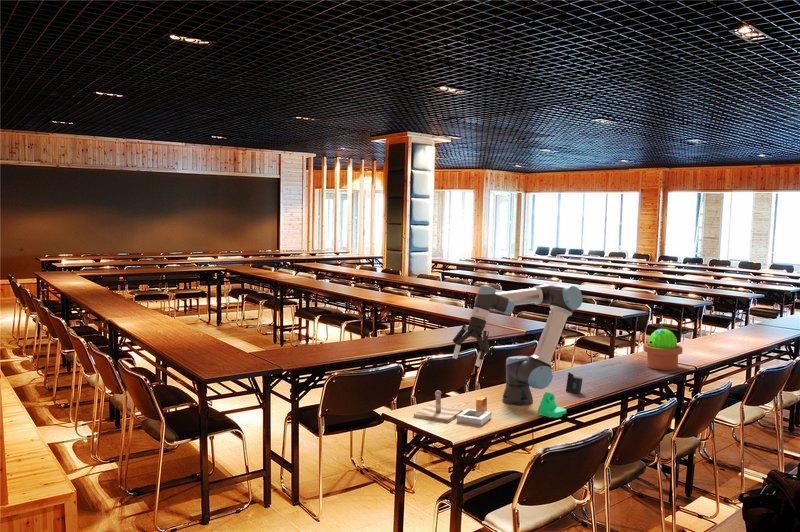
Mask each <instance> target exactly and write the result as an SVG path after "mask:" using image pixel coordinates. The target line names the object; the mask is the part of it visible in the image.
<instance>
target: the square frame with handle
mask: <svg viewBox="0 0 800 532" xmlns="http://www.w3.org/2000/svg"><path fill="white" fill-rule="evenodd" d="M487 400H488V397H487V396H483V395H481V396H479V397H478V398H476V399H475V409H473V408H466V409H464V410H463V412H461V413H460V414H458V415H457V417H456V423H459V424H460V423H463V424H465V425H466V424H467V425H473V426H479V427H482V426H483V425H485V424H486V423H487V422H488V421H490V420H491V419H492V411H488V408H487V407H488V406H487V405H488V403H487V402H488V401H487ZM490 418H491V419H490ZM489 419H490V420H489ZM484 423H485V424H484Z"/></svg>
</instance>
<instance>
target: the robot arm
mask: <svg viewBox="0 0 800 532" xmlns="http://www.w3.org/2000/svg"><path fill="white" fill-rule="evenodd" d="M496 290H497V289H496V288H495V287H493V286H490V285H486V284H482V285H480V286H479V289H478V292H477V293H476V295H475V297H474V305H473V310H472V312H471V316H470V318H469V321H468V325H467V324H463V325H462V327H461V328H460V330H459V331H458V332H457V334H456V335H455V337H454V338H453V339H452V342H453V343H454V347H453V354H452V357H451V358H452V359H454V360H457V359H458V357H459V354H460V350H461V347H462V346H461V345H462V344H463V343H464V342H465V341H466V340H467V339H469V338H470V337H471V338H475V339H476V340H477V344H478V347H479V350H480V351H478V355H477V357H476V361H475V363H474V366H476V367H479V368H480V367H481V364H482V361H483V360H484V358H485V354H490V351H491V350H490V342H489V335H490V332H489V331H488V330H484V329H485V328H486V325H487V320H488V318H489V315H490V311H493V312H496V313H497V312H498V313H501V314H505V315H510V314H511V313H513V311H514V308H515V306H519V305H520V306H521V305H529V304H535V305H547V306H549V308H550V312H549V314H548V316H547V320H546V321H545V322H546V323H545V324H544V327H543V330H542V332H541V335H540V337H539V340H538V342H537V346H536V348H535V351H534V352H533V354H531V355H529V356H528V355H515V356H508V357H507V358H506V359H505V389H504V392H503V394H502V402H503V401H504V402H503V403H506V404H507V403H508V404H507V405H514V406H528V405H530V404H532V403H533V401H534V399H533V394H532V391H531V388H532V389H538V390H543V389H545V388H548V387H549V386H550V384H551V383H552V381H553V378H554V375H553V370H552V366H553V365H552V362H551V361H552V358H553V355H554V353H555V350H556V348H557V345H558V343H559V340H560V337H561V335H562V332H563V330H564V328H565V325H566V322H567V319H568V318H569V317H571V316H572V315H573V313H574V311H575V310H577V309H579V308H580V307H581V306H582V303H583V295H582V291H581V290H580V288H578V287H577V286H575V285H572V284H564V283H563V284H562V283H554V282H553V283H546V284H542V285H541V284H540V285H534V286H533V287H531V288H523V289H516V290H507V291H499V292H498V291H497V292H496ZM530 387H531V388H530Z"/></svg>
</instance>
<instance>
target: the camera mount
mask: <svg viewBox="0 0 800 532" xmlns="http://www.w3.org/2000/svg"><path fill="white" fill-rule="evenodd" d="M555 398H556V397H555V394H553V393H550V392H544V394H543V396H542V398H541V401H540V404H539V406H538V408H537V415H541V416H544V417H546V418H553V419H557V418H561V417H563V415H565V414H567V408H564V407H563V408H562V407H560V406H558V405H557V403H556V401H555Z"/></svg>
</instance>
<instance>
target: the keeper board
mask: <svg viewBox="0 0 800 532" xmlns="http://www.w3.org/2000/svg"><path fill="white" fill-rule="evenodd" d="M434 395H435V405H434V404H429V405H427V406H425V407H422V408H421V409H420V410H418V411H416V412H415V413H413V418H418V419H423V420H429V419H430V421H435V420H436V422H440V421H443V422H442V423H446V422H447V424H448V423H450V422H452V421H453V420H454V418H455V419H457V415H458V414H460V413H461V412H463V411H464V410H463V409H456V408H452V407H447V406H446V407H445V406H442V403H441V402H442V401H441V399H442V391H441V390H439V389H438V390H436V391H435V392H434ZM451 420H452V421H451Z"/></svg>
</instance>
